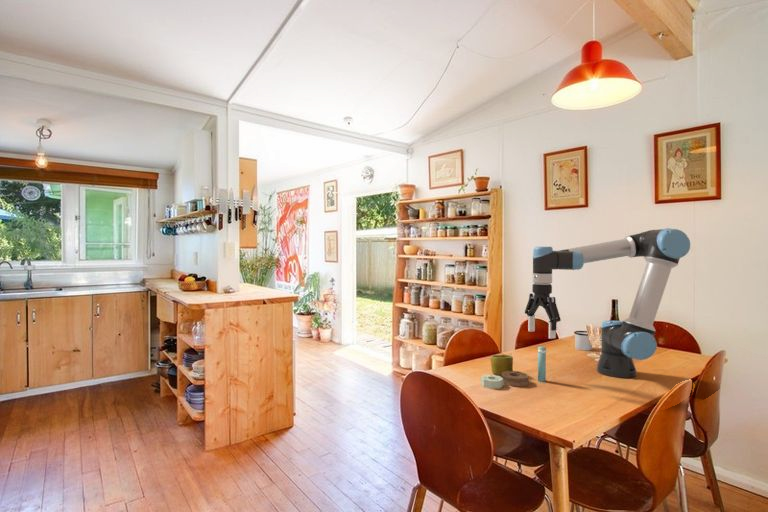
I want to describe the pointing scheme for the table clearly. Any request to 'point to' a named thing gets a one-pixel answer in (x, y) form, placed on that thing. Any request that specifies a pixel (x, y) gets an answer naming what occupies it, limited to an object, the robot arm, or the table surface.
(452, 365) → the table surface
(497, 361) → the mug
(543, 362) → the teal cylinder
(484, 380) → the bead
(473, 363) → the table surface
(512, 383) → the brown ring
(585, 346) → the mug
